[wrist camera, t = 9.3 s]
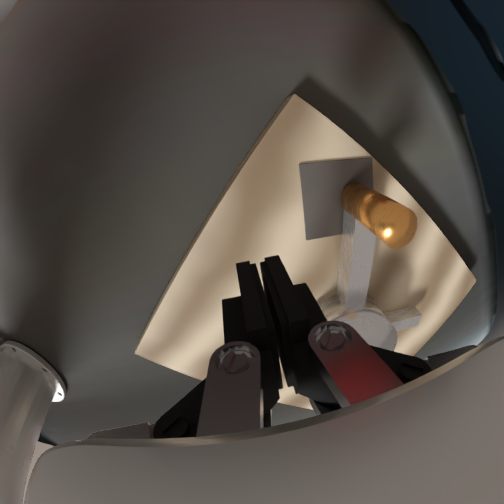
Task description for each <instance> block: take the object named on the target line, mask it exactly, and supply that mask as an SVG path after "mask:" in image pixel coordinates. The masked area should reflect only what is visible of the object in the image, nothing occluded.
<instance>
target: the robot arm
mask: <svg viewBox="0 0 504 504" xmlns="http://www.w3.org/2000/svg"><path fill="white" fill-rule="evenodd" d="M264 260H265V261H264V262H260V268H261V274H262V281H263V286H262V283H261V279H260V276H259V273H258V269H257V266H256V263H254V264H250V261H245V262H240V263H236V269H237V275H238V282H239V288H240V294H241V296H237V297H232V298H227V299H222V314H223V330H224V345H222V346H220V347H219V348H217V349H216V350H215V351H214V352H213V354H212V355H211V358H210V360H209V366H208V371H207V377H206V378H205V379H204V380H203V381H202V382H201V383H200V384H198V385H197V386H196V387H195V388H194V389H193V390H192V391H191V392H189V393H188V394H187V395H186V396H185V397H184V398H183V399H181V400H180V401H179V402H178V403H177V404H176V405H174V406H173V407H172V408H171V409H170V410H169V411H167V412H166V413H165V414H164V415H163V416H161V417H160V419H159V420H158V421H157V422H156V423H155V424H151V425H150V424H149V423H148V422H145V423H141V424H136V425H131V426H126V427H121V428H115V429H109V430H103V431H97V432H94V433H92V434H91V435H90V436H88V437H87V439H85V440H77V441H71V442H68V443H64V444H60V445H57V446H54V447H52V448H50V449H48V450H46V451H45V452H44V453H43V454H42V455H41V456H40V457H39V458H38V460H37V462H36V464H35V466H34V468H33V471H32V473H31V476H30V479H29V483H28V487H27V491H26V495H25V500H24V504H504V336H502V337H499V338H496V339H493V340H491V341H488V342H486V343H484V344H482V345H480V346H475V345H470V346H465V347H462V348H459V349H455V350H451V351H448V352H444V353H440V354H436V355H432V356H427V358H426V360H422V359H420V358H417V357H414V356H410V355H406V354H402V353H398V352H394V351H390V350H387V349H383V348H379V347H375V346H372V345H369V344H368V343H367V342H366V341H365V340H364V339H363V338H362V337H361V336H360V335H359V333H358V332H357V331H356V330H355V329H354V328H353V327H352V326H350V325H349V324H347V323H345V322H341V321H327V319H326V317H325V315H324V314H323V312H322V310H321V308H320V306H319V305H318V303H317V301H316V299H315V298H314V296H313V294H312V292H311V290H310V289H309V287H308V285H307V284H306V283H301V284H296V285H293V283H292V281H291V279H290V277H289V275H288V273H287V271H286V269H285V267H284V265H283V263H282V261H281V259H280V257H279V255H275V256H270V257H265V258H264ZM263 287H264V289H263ZM279 358H280V360H279ZM280 362H281V365H282V369H283V372H284V376H285V379H286V383H287V386H288V387H292V386H293V387H294V390H295V393H296V394H300V395H303V396H305V397H308V398H309V401H310V404H311V406H312V408H313V410H314V411H315V413H316V415H317V416H314V417H310V418H307V419H303V420H299V421H295V422H290V423H286V424H281V425H277V426H273V424H272V410H271V409H272V408H273V406H274V405H275V404H276V403H277V401H278V400H279V399H280V395H279V389H283V383H282V375H281V368H280ZM65 395H66V387H65V385H64V382H63V381H62V379H61V377H60V376H59V375H58V373H57V372H56V371H55V370H54V369H53V368H52V367H51V365H49V364H48V363H47V362H46V361H45V360H44V359H43V358H42V357H40V356H39V355H38V354H37V353H35V352H34V351H32V350H31V349H29V348H28V347H26V346H24V345H22V344H20V343H18V342H15V341H5V342H4V343H3V344H2V345H1V347H0V504H23V496H24V489H25V484H26V479H27V476H28V471H29V468H30V464H31V461H32V457H33V454H34V450H35V447H36V444H37V441H38V438H39V435H40V432H41V429H42V426H43V423H44V421H45V418H46V415H47V413H48V410H49V408H50V405H51V402H52V401H53V402H58V401H62V400H63V399H64V397H65Z"/></svg>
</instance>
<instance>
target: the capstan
mask: <svg viewBox="0 0 504 504" xmlns="http://www.w3.org/2000/svg"><path fill="white" fill-rule="evenodd" d="M341 206H342V208H343V209H344V216H343V231H342V245H341V256H340V266H339V276H338V285H337V293H336V295H333V296H331V297H329V298H327V299H325V300H323V301H322V302H320V303H319V304H318V305H319V306H320V308H321V310H322V312H323V314H324V315H325V317H326V319H327V321H341V322H345V323H347V324H349V325H350V326H352V327H353V328H354V329H355V330H356V331H357V332H358V333H359V335H360V336H361V337H362V338H363V339H364V340H365V341H366V342H367V343H368V344H369V345H372V346H375V347H379V348H383V349H387V350H390V351H394V349H395V347H396V344H397V331H401V330H405V329H408V328H412V327H415V326H418V325H419V322H420V319H421V317H422V314H421V313H420V312H419V311H418V309H417V308H416V307H415V306H411V307H407V308H403V309H399V310H394V311H390V312H386V313H384V312H383V311H382V310H381V308H380V307H379V306H378V304H377V303H376V302H375V300H374V299H373V298H372V297H371V296H369V295H367V292H368V286H369V281H370V275H371V269H372V263H373V256H374V249H375V242H376V236H377V237H378V238H379V239H381V240H382V241H383V242H384V243H385V244H386V245H388V246H389V247H390V248H393V249H400V248H403V247H405V246H406V245H407V244H409V243H410V242H411V240H412V239H413V237H414V236H415V233H416V230H417V217H416V215H415V213H414V212H413V211H412V210H411V209H409V208H408V207H406V206H404V205H402V204H400V203H398V202H397V201H395V200H393V199H391V198H389V197H387V196H385V195H383V194H381V193H379V192H377V191H375V190H373V189H371V188H369V187H367V186H365V185H363V184H361V183H351V184H349V185H348V186H346V187H345V189H344V190H343V192H342V194H341Z"/></svg>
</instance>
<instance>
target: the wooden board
mask: <svg viewBox="0 0 504 504" xmlns="http://www.w3.org/2000/svg"><path fill="white" fill-rule="evenodd" d="M351 183H361V184H363V185H365V186H367V187H369V188H371V189H373V190H375V191H377V192H379V193H381V194H383V195H385V196H387V197H389V198H391V199H393V200H395V201H397V202H398V203H400V204H402V205H404V206H406V207H408V208H409V209H411V210H412V211H413V212H414V213H415V215H416V217H417V230H416V233H415V236H414V237H413V239H412V240H411V242H410V243H409V244H407V245H406V246H405V247H403V248H400V249H393V248H390V247H389V246H388V245H386V244H385V243H384V242H383V241H382V240H381V239H379V238H378V237H377V236H376V242H375V249H374V256H373V263H372V269H371V275H370V281H369V286H368V292H367V295H369V296H371V297H372V298H373V299H374V300H375V302H376V303H377V304H378V306H379V307H380V308H381V310H382V311H383V312H384V313H386V312H390V311H394V310H399V309H403V308H407V307H411V306H415V307H416V308H417V309H418V311H419V312H420V313H421V314H422V317H421V319H420V322H419V325H418V326H415V327H412V328H408V329H405V330H401V331H397V344H396V347H395V349H394V352H398V353H402V354H406V355H410V356H414V355H415V354H416V352H417V351H418V350H419V349H420V348H421V347H422V346H423V345H424V344H425V343H426V342H427V341H428V340H429V339H430V338H431V337H432V336H433V335H434V333H435V332H436V331H437V330H438V329H439V328H440V327H441V325H442V324H443V323H444V322H445V321H446V320H447V318H448V317H449V316H450V315H451V314H452V312H453V311H454V310H455V309H456V307H457V306H458V305H459V304H460V302H461V301H462V300H463V298H464V297H465V296H466V294H467V293H468V292H469V290H470V289H471V288H472V286H473V285H474V283H475V282H476V279H475V278H474V276H473V275H472V273H471V272H470V270H469V269H468V267H467V266H466V264H465V263H464V261H463V260H462V258H461V257H460V256H459V254H458V253H457V251H456V250H455V249H454V247H453V246H452V245H451V243H450V242H449V241H448V239H447V238H446V237H445V236H444V234H443V233H442V232H441V230H440V229H439V228H438V227H437V225H436V224H435V223H434V222H433V221H432V219H431V218H430V217H429V216H428V215H427V213H426V212H425V211H424V210H423V209H422V208H421V206H420V205H419V204H418V203H417V202H416V201H415V200H414V199H413V197H412V196H411V195H410V194H409V193H408V192H407V191H406V190H405V189H404V188H403V187H402V186H401V185H400V184H399V182H398V181H397V180H396V179H395V178H394V177H393V176H392V175H391V174H390V173H389V172H388V171H387V170H386V169H385V168H384V167H383V166H382V165H381V164H379V163H378V162H377V161H376V160H375V159H374V158H373V157H372V156H371V155H370V154H369V153H368V152H367V151H366V150H364V149H363V148H362V147H361V146H360V145H359V144H358V143H357V142H355V141H354V140H353V139H352V138H351V137H350V136H349V135H347V134H346V133H345V132H344V131H343V130H341V129H340V128H339V127H338V126H337V125H335V124H334V123H333V122H332V121H330V120H329V119H328V118H327V117H325V116H324V115H323V114H321V113H320V112H319V111H317V110H316V109H315V108H313V107H312V106H311V105H309V104H308V103H307V102H305V101H304V100H303V99H301V98H300V97H298V96H297V95H296V94H293V95H290V96H288V97H287V98H286V100H285V101H284V102H283V104H282V105H281V107H280V108H279V109H278V111H277V112H276V114H275V115H274V116H273V118H272V119H271V121H270V122H269V123H268V125H267V126H266V128H265V129H264V131H263V132H262V133H261V135H260V136H259V138H258V139H257V141H256V142H255V144H254V145H253V147H252V148H251V150H250V151H249V153H248V154H247V156H246V157H245V159H244V160H243V162H242V163H241V165H240V166H239V168H238V169H237V171H236V172H235V174H234V175H233V177H232V178H231V180H230V181H229V183H228V185H227V186H226V188H225V189H224V191H223V192H222V194H221V196H220V197H219V199H218V200H217V202H216V204H215V205H214V207H213V208H212V210H211V212H210V213H209V215H208V216H207V218H206V220H205V221H204V223H203V225H202V226H201V228H200V230H199V231H198V233H197V235H196V236H195V238H194V240H193V241H192V243H191V245H190V247H189V248H188V250H187V252H186V253H185V255H184V257H183V259H182V260H181V262H180V264H179V266H178V267H177V269H176V271H175V273H174V274H173V276H172V278H171V280H170V282H169V283H168V285H167V287H166V289H165V291H164V293H163V294H162V296H161V298H160V300H159V302H158V304H157V306H156V307H155V309H154V311H153V313H152V315H151V317H150V319H149V321H148V323H147V325H146V326H145V328H144V330H143V332H142V334H141V336H140V338H139V341H138V344H137V347H136V350H135V354H137V355H140V356H142V357H144V358H146V359H149V360H151V361H153V362H156V363H158V364H160V365H163V366H165V367H168V368H170V369H173V370H175V371H178V372H181V373H183V374H186V375H189V376H191V377H194V378H197V379H200V380H204V379H205V378H206V377H207V371H208V366H209V360H210V358H211V355H212V354H213V352H214V351H215V350H216V349H217V348H219V347H220V346H222V345H224V330H223V314H222V299H227V298H232V297H237V296H241V294H240V288H239V282H238V275H237V269H236V263H240V262H245V261H250V264H254V263H256V266H257V269H258V273H259V276H260V279H261V283H262V286H263V281H262V274H261V268H260V262H264V261H265V260H264V258H265V257H270V256H275V255H279V257H280V259H281V261H282V263H283V265H284V267H285V269H286V271H287V273H288V275H289V277H290V279H291V281H292V283H293V285H296V284H301V283H306V284H307V285H308V287H309V289H310V290H311V292H312V294H313V296H314V298H315V299H316V301H317V303H318V304H319V303H320V302H322V301H323V300H325V299H327V298H329V297H331V296H333V295H336V293H337V285H338V276H339V266H340V256H341V245H342V231H343V216H344V209H343V208H342V206H341V194H342V192H343V190H344V189H345V187H346V186H348V185H349V184H351ZM263 289H264V287H263ZM279 360H280V358H279ZM280 368H281V375H282V383H283V389H279V395H280V399H279V400H278V401H277V402H279V403H283V404H288V405H292V406H297V407H302V408H307V409H313V408H312V406H311V404H310V401H309V398H308V397H305V396H303V395H300V394H296V393H295V390H294V387H293V386H292V387H288V386H287V383H286V379H285V376H284V372H283V369H282V365H281V362H280Z"/></svg>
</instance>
